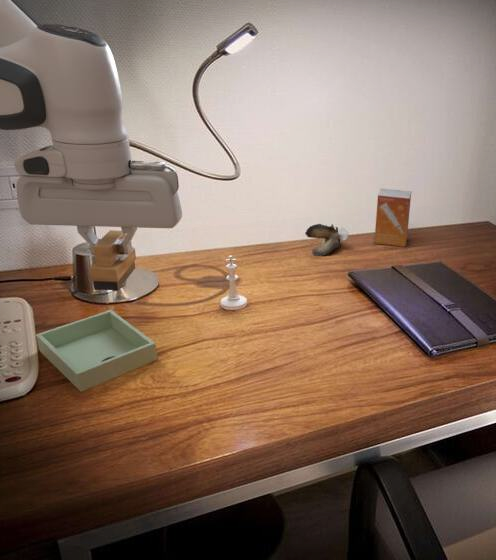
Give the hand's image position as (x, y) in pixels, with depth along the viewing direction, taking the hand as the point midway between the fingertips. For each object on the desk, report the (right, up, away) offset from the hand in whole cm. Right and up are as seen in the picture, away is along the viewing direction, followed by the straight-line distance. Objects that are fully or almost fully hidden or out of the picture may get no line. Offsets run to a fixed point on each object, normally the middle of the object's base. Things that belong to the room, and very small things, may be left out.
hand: (112, 252), depth 77 cm
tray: (-5, -16, +5) cm, 18 cm away
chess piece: (+10, -9, +24) cm, 27 cm away
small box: (+39, +6, +59) cm, 71 cm away
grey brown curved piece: (+24, +3, +51) cm, 56 cm away
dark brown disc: (-1, -17, +2) cm, 17 cm away
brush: (0, -4, +2) cm, 4 cm away
